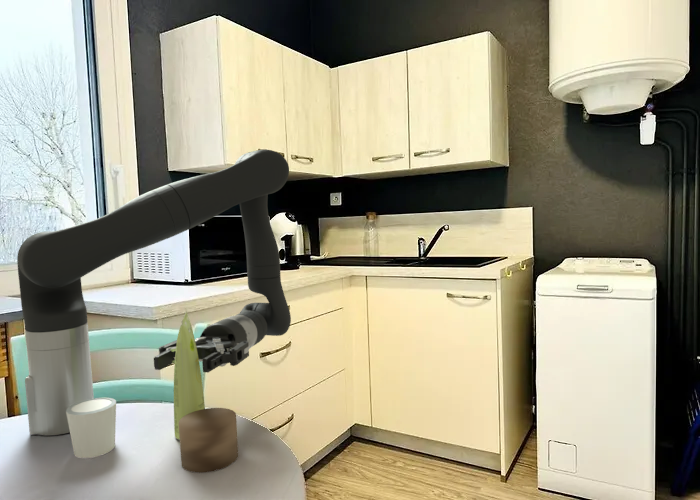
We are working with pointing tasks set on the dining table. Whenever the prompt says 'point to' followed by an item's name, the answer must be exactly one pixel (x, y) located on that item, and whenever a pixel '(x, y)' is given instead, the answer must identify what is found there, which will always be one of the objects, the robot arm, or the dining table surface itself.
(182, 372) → the tube
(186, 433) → the walnut block
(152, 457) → the dining table surface
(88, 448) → the white cup
